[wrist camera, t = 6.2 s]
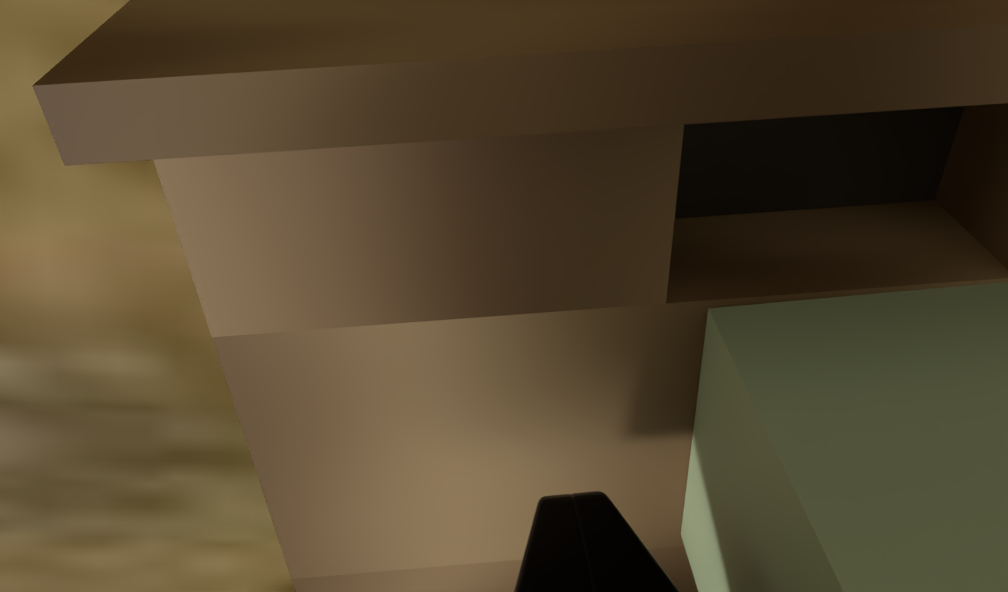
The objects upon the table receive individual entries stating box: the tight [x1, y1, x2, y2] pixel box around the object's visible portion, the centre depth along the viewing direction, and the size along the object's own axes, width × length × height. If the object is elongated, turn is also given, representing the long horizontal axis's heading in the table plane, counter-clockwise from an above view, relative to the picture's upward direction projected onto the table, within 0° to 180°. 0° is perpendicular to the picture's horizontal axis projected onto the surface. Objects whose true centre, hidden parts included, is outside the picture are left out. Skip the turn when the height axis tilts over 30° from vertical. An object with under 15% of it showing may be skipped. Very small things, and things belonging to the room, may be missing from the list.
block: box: [681, 282, 1008, 592], centre depth 8 cm, size 4×4×4 cm
